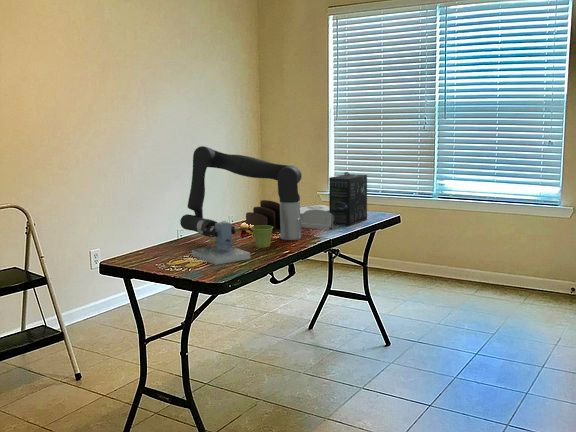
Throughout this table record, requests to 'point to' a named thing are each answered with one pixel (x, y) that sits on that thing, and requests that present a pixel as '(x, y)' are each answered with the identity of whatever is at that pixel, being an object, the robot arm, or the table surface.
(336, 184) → the headset box
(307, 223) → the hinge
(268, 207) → the letter holder
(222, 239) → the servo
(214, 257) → the plate
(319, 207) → the white rounded slab
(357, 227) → the table surface
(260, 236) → the plant pot
